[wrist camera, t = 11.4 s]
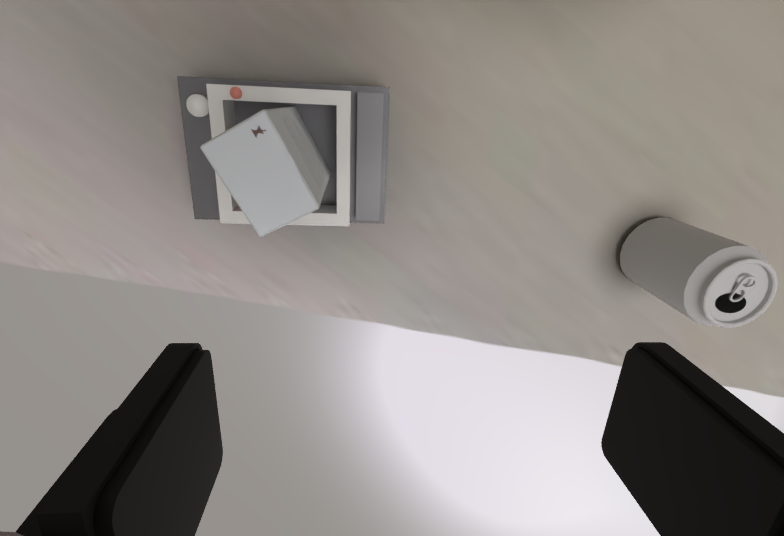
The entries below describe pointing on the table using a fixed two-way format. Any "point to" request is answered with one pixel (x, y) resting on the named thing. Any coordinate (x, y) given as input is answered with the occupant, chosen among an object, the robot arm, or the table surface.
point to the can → (699, 272)
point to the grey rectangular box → (326, 126)
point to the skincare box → (270, 168)
